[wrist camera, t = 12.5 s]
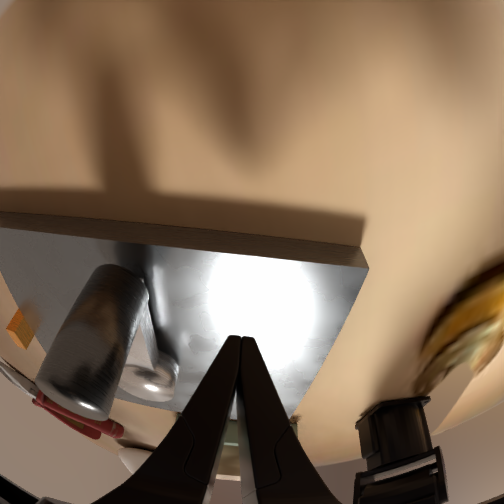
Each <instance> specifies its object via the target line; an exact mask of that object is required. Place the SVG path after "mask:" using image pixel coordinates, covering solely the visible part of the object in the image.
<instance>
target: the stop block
mask: <svg viewBox="0 0 504 504" xmlns="http://www.w3.org/2000/svg"><path fill="white" fill-rule="evenodd" d="M216 479H224V480H236V481H241V479H240V463H239V447H238V446H231V445H224V446H223V450H222V454H221V458H220V463H219V467H218V471H217V475H216Z"/></svg>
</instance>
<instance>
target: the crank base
mask: <svg viewBox="0 0 504 504" xmlns="http://www.w3.org/2000/svg"><path fill="white" fill-rule="evenodd" d="M104 264H115V265H119V266H122V267H124V268H126V269H128V270H130V271H131V272H133V273H134V274H136V275H137V276H138V277H139V278H141V279H143V281H144V284H145V286H146V288H147V290H148V294H149V300H148V307H149V312H150V316H151V321H152V326H153V330H154V334H155V339H156V343H157V347H158V350H160V351H162V352H164V353H166V354H167V355H169V356H170V357H172V358H173V359H174V360H175V361H176V363H177V364H178V366H179V373H178V377H177V382H176V387H175V391H174V396H173V398H172V399H171V400H169V401H164V402H156V401H150V400H145V399H142V398H139V397H136V396H134V395H132V394H130V393H128V392H126V391H125V390H123V389H122V388H120V387H119V386H118V388H117V391H116V394H115V397H114V398H117V399H121V400H125V401H129V402H133V403H137V404H141V405H146V406H150V407H155V408H160V409H165V410H170V411H176V412H182V411H183V409H184V408H185V406H186V405H187V403H188V401H189V400H190V398H191V397H192V395H193V393H194V392H195V390H196V388H197V387H198V385H199V383H200V382H201V380H202V379H203V377H204V375H205V374H206V372H207V370H208V369H209V367H210V365H211V364H212V362H213V360H214V359H215V357H216V355H217V354H218V352H219V350H220V349H221V347H222V345H223V344H224V342H225V340H226V339H227V337H228V336H229V335H230V334H232V335H240V336H241V338H242V336H251V337H254V338H255V340H256V342H257V344H258V347H259V349H260V352H261V354H262V357H263V359H264V361H265V364H266V366H267V369H268V371H269V373H270V376H271V378H272V381H273V383H274V385H275V388H276V390H277V392H278V395H279V397H280V399H281V402H282V404H283V406H284V409H285V411H286V413H287V416H288V418H289V419H290V417H291V416H292V414H293V413H294V411H295V410H296V408H297V406H298V405H299V403H300V402H301V400H302V398H303V397H304V395H305V393H306V392H307V390H308V388H309V387H310V385H311V383H312V382H313V380H314V378H315V376H316V375H317V373H318V371H319V369H320V368H321V366H322V364H323V362H324V361H325V359H326V357H327V355H328V353H329V351H330V350H331V348H332V346H333V344H334V342H335V340H336V338H337V336H338V334H339V332H340V330H341V328H342V326H343V324H344V322H345V320H346V318H347V316H348V314H349V312H350V310H351V308H352V306H353V304H354V302H355V300H356V298H357V295H358V293H359V291H360V289H361V287H362V284H363V282H364V280H365V278H366V275H367V273H368V271H369V266H368V264H367V262H366V259H365V257H364V255H363V252H362V250H361V248H360V247H353V246H345V245H337V244H329V243H321V242H313V241H304V240H296V239H287V238H279V237H270V236H261V235H252V234H243V233H234V232H225V231H215V230H206V229H196V228H186V227H176V226H166V225H156V224H145V223H134V222H123V221H112V220H101V219H89V218H77V217H64V216H52V215H38V214H24V213H10V212H0V271H1V273H2V276H3V278H4V280H5V282H6V284H7V286H8V288H9V290H10V292H11V294H12V296H13V298H14V300H15V302H16V304H17V306H18V307H19V309H18V310H17V312H16V313H15V315H14V317H13V318H12V320H11V321H10V323H9V325H8V326H7V328H6V330H7V331H8V333H9V334H10V336H11V337H12V339H13V340H14V342H15V343H16V345H17V346H18V347H21V348H23V349H25V350H27V348H28V346H29V344H30V342H31V340H32V338H33V336H34V335H35V336H36V338H37V339H38V341H39V343H40V344H41V346H42V347H43V349H44V350H45V352H46V353H48V351H49V349H50V347H51V345H52V343H53V341H54V339H55V337H56V335H57V333H58V331H59V329H60V328H61V326H62V324H63V322H64V320H65V318H66V317H67V315H68V313H69V311H70V310H71V308H72V306H73V304H74V303H75V301H76V299H77V297H78V296H79V294H80V292H81V291H82V289H83V287H84V286H85V284H86V283H87V281H88V279H89V278H90V276H91V275H92V273H93V271H94V270H95V269H96V268H97V267H98V266H100V265H104ZM230 419H237V410H236V394H235V399H234V404H233V408H232V412H231V416H230Z"/></svg>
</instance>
